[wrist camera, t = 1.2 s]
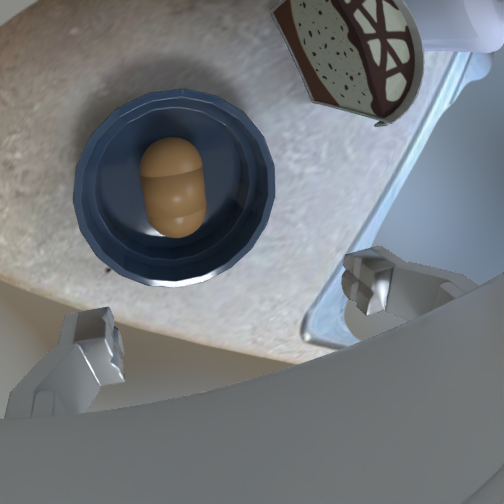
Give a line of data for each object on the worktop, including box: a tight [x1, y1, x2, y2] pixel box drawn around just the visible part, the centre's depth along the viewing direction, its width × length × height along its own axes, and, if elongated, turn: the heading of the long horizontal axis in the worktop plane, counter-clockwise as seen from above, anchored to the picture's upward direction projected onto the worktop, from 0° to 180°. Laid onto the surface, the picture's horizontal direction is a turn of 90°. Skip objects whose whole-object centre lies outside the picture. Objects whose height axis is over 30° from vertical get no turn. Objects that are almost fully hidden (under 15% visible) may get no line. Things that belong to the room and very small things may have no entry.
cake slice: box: [269, 0, 424, 127], centre depth 19 cm, size 12×6×10 cm, turn 26°
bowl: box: [73, 89, 275, 288], centre depth 23 cm, size 14×14×5 cm
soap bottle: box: [403, 0, 504, 53], centre depth 14 cm, size 9×9×25 cm
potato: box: [140, 137, 207, 238], centre depth 23 cm, size 8×5×5 cm, turn 2°
